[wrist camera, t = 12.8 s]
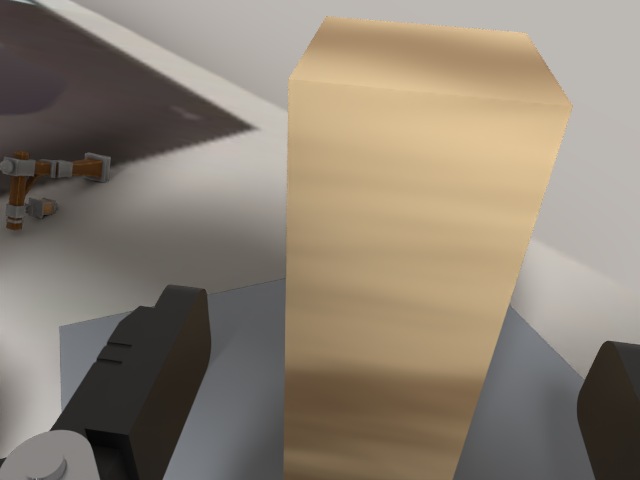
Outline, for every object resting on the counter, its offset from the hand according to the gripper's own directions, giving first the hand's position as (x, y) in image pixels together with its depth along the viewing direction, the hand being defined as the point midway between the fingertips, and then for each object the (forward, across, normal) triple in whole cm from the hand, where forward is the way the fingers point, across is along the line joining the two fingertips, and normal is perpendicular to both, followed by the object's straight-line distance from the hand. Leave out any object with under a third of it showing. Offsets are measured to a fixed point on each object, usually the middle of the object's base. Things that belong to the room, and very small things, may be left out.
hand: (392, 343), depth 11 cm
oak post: (+4, 0, +9) cm, 10 cm away
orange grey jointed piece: (+20, +20, +11) cm, 30 cm away
